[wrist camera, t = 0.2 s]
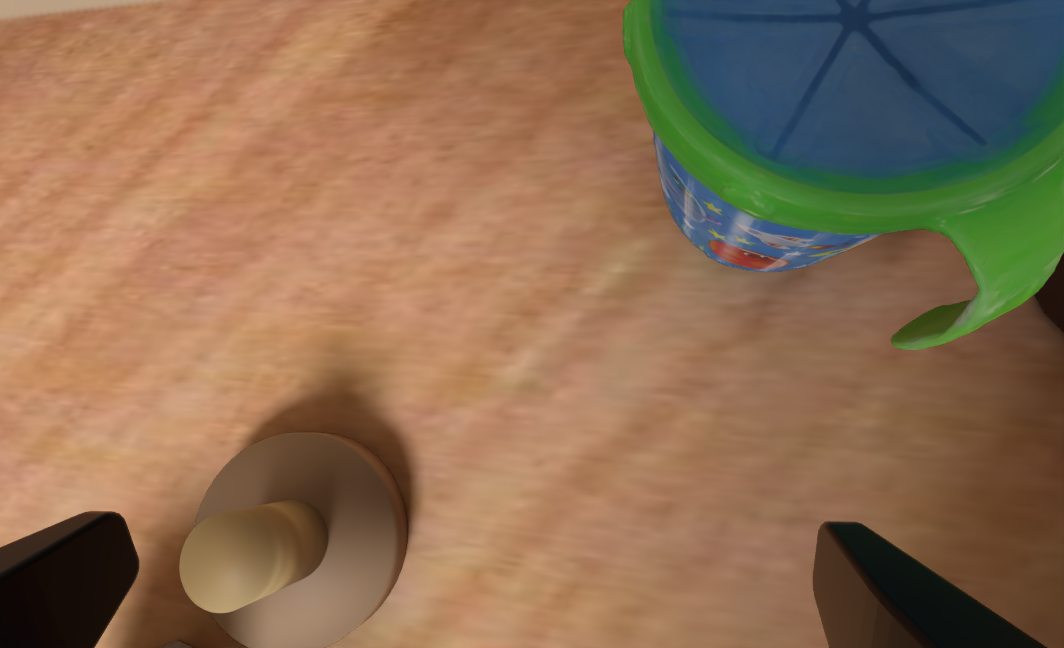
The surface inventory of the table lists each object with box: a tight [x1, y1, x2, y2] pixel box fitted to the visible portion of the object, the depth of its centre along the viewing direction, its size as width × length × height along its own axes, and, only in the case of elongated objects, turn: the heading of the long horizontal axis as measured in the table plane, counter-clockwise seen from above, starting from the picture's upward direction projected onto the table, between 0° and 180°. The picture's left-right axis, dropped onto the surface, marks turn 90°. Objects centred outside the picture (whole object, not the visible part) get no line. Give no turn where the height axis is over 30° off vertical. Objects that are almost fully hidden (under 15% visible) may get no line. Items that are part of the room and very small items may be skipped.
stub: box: [179, 432, 408, 648], centre depth 20 cm, size 8×8×5 cm
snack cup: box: [623, 0, 1064, 350], centre depth 18 cm, size 16×10×10 cm
